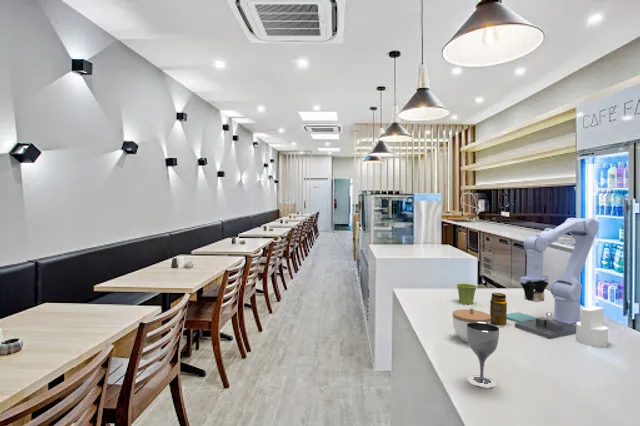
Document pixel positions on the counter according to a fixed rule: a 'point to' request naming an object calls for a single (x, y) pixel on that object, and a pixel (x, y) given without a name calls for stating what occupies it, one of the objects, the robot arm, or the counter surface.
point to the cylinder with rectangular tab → (592, 328)
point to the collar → (536, 297)
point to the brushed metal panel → (547, 327)
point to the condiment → (498, 309)
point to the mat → (520, 317)
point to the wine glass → (482, 343)
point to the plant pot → (466, 293)
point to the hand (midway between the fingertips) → (533, 299)
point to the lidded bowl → (467, 320)
